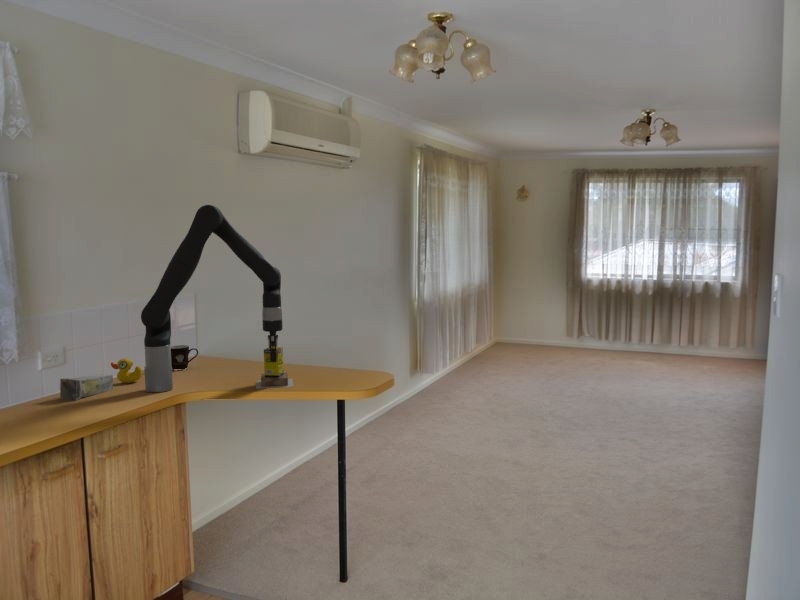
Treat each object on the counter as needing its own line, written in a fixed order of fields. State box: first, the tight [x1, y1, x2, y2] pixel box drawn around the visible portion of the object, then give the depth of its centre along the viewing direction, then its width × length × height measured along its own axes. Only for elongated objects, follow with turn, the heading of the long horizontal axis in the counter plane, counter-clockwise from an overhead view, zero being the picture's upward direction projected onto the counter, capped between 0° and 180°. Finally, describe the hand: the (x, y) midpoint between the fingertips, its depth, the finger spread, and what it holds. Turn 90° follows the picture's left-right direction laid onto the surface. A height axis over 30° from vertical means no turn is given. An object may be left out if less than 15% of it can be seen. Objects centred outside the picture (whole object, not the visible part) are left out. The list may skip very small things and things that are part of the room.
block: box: [59, 373, 114, 402], centre depth 237 cm, size 19×8×8 cm, turn 158°
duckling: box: [110, 358, 143, 384], centre depth 254 cm, size 11×5×10 cm, turn 109°
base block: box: [260, 372, 289, 387], centre depth 248 cm, size 10×10×3 cm
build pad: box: [255, 378, 294, 390], centre depth 248 cm, size 14×14×1 cm
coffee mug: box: [171, 344, 199, 369], centre depth 280 cm, size 12×9×10 cm
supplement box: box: [263, 346, 285, 377], centre depth 247 cm, size 6×6×11 cm
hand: (273, 359), depth 247 cm, fingers open, 8 cm apart
